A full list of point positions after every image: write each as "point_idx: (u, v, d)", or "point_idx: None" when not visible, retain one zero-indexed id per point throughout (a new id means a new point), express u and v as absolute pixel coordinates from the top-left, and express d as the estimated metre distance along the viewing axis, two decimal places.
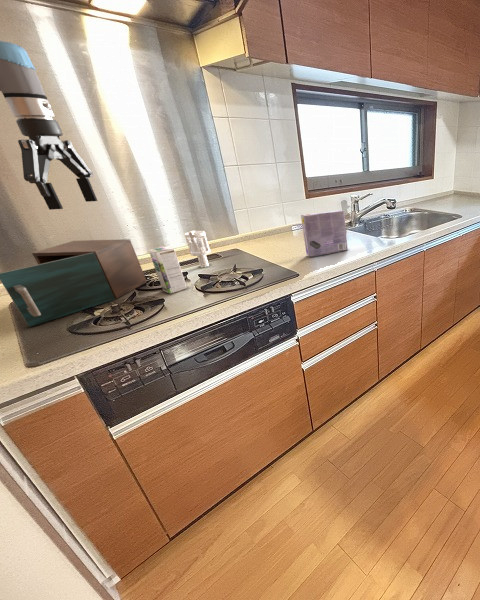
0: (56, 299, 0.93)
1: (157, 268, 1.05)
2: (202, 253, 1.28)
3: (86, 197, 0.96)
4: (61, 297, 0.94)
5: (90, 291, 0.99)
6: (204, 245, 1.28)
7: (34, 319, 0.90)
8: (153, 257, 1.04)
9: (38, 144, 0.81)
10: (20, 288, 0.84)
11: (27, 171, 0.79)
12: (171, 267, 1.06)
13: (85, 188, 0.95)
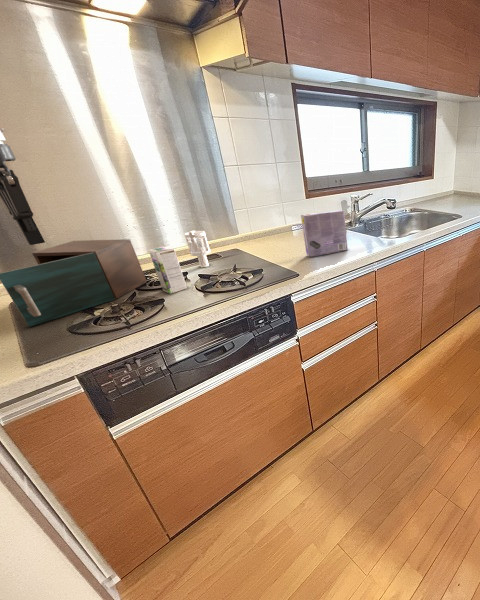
0: (56, 299, 0.93)
1: (157, 268, 1.05)
2: (202, 253, 1.28)
3: None
4: (61, 297, 0.94)
5: (90, 291, 0.99)
6: (204, 245, 1.28)
7: (34, 319, 0.90)
8: (153, 257, 1.04)
9: (8, 170, 0.75)
10: (20, 288, 0.84)
11: (21, 208, 0.78)
12: (171, 267, 1.06)
13: None
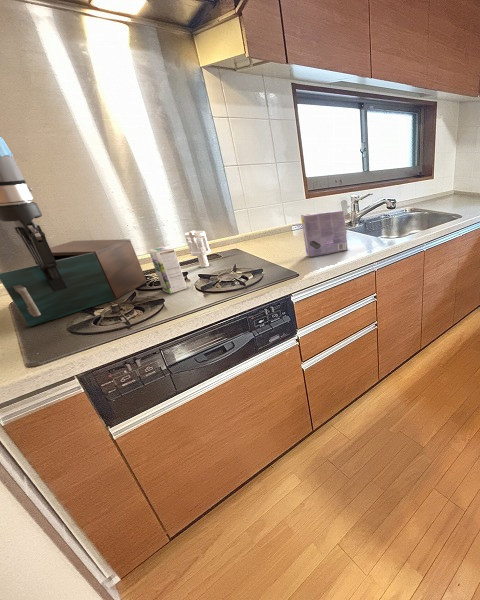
0: (56, 299, 0.93)
1: (157, 268, 1.05)
2: (202, 253, 1.28)
3: None
4: (61, 297, 0.94)
5: (90, 291, 0.99)
6: (204, 245, 1.28)
7: (34, 319, 0.90)
8: (153, 257, 1.04)
9: (36, 227, 0.82)
10: (20, 288, 0.84)
11: (47, 260, 0.85)
12: (171, 267, 1.06)
13: None
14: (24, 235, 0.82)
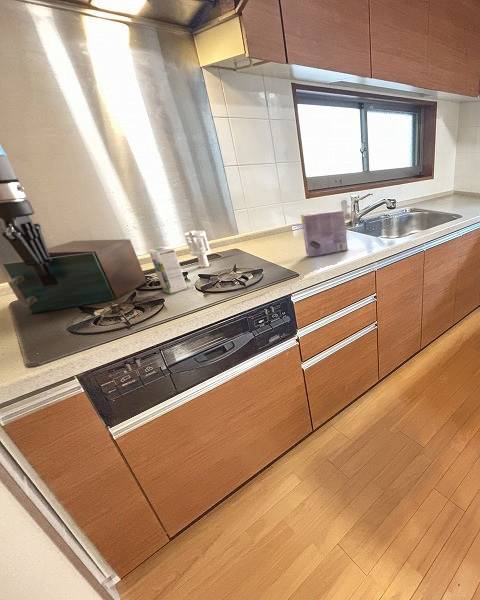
0: (56, 292, 0.98)
1: (157, 268, 1.05)
2: (202, 253, 1.28)
3: None
4: (60, 291, 0.98)
5: (89, 289, 1.01)
6: (204, 245, 1.28)
7: (36, 307, 0.97)
8: (153, 257, 1.04)
9: (14, 226, 0.83)
10: (11, 280, 0.89)
11: (26, 258, 0.87)
12: (171, 267, 1.06)
13: None
14: None
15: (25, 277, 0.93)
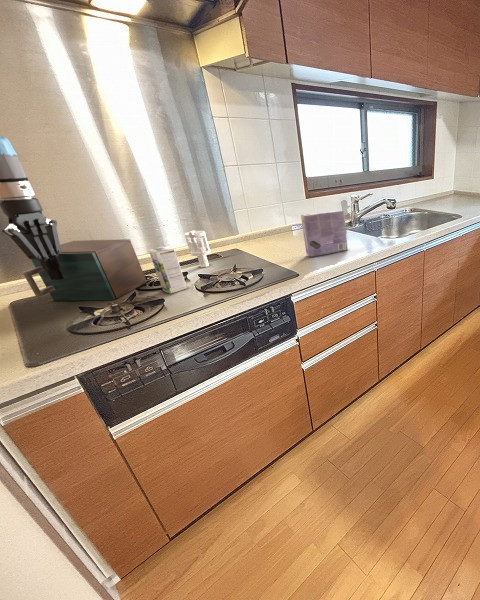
0: (68, 285, 1.03)
1: (157, 268, 1.05)
2: (202, 253, 1.28)
3: None
4: (71, 284, 1.03)
5: (92, 286, 1.03)
6: (204, 245, 1.28)
7: (55, 296, 1.04)
8: (153, 257, 1.04)
9: (15, 223, 0.87)
10: (26, 271, 0.96)
11: (27, 253, 0.91)
12: (171, 267, 1.06)
13: None
14: None
15: None
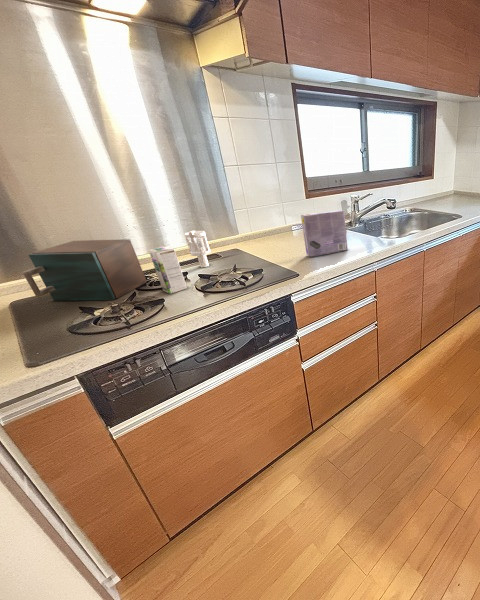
0: (68, 285, 1.03)
1: (157, 268, 1.05)
2: (202, 253, 1.28)
3: None
4: (71, 284, 1.03)
5: (92, 286, 1.03)
6: (204, 245, 1.28)
7: (55, 296, 1.04)
8: (153, 257, 1.04)
9: None
10: (26, 271, 0.96)
11: None
12: (171, 267, 1.06)
13: None
14: None
15: (44, 268, 1.00)
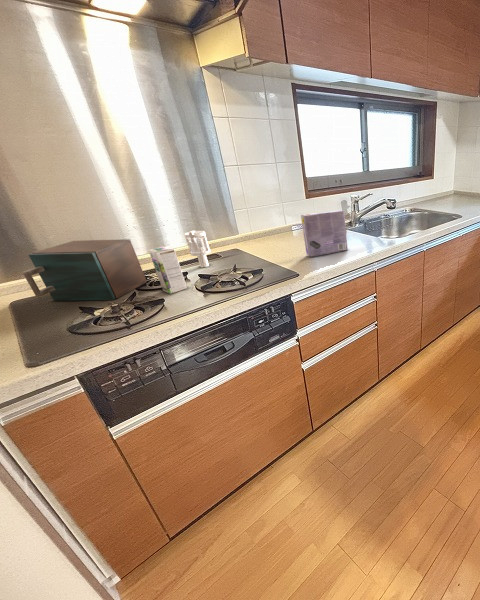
0: (68, 285, 1.03)
1: (157, 268, 1.05)
2: (202, 253, 1.28)
3: None
4: (71, 284, 1.03)
5: (92, 286, 1.03)
6: (204, 245, 1.28)
7: (55, 296, 1.04)
8: (153, 257, 1.04)
9: None
10: (26, 271, 0.96)
11: None
12: (171, 267, 1.06)
13: None
14: None
15: (44, 268, 1.00)
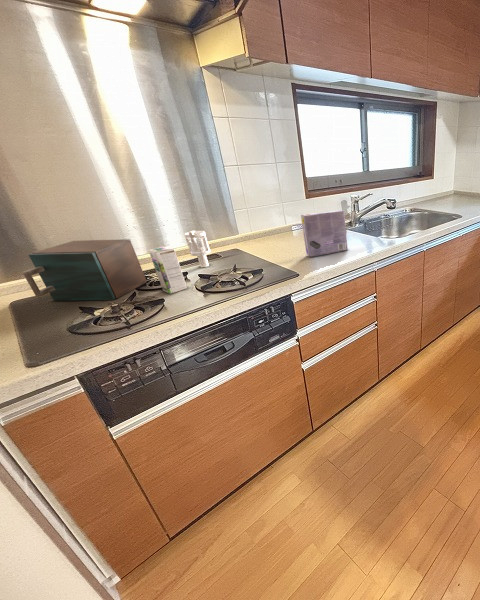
0: (68, 285, 1.03)
1: (157, 268, 1.05)
2: (202, 253, 1.28)
3: None
4: (71, 284, 1.03)
5: (92, 286, 1.03)
6: (204, 245, 1.28)
7: (55, 296, 1.04)
8: (153, 257, 1.04)
9: None
10: (26, 271, 0.96)
11: None
12: (171, 267, 1.06)
13: None
14: None
15: (44, 268, 1.00)
